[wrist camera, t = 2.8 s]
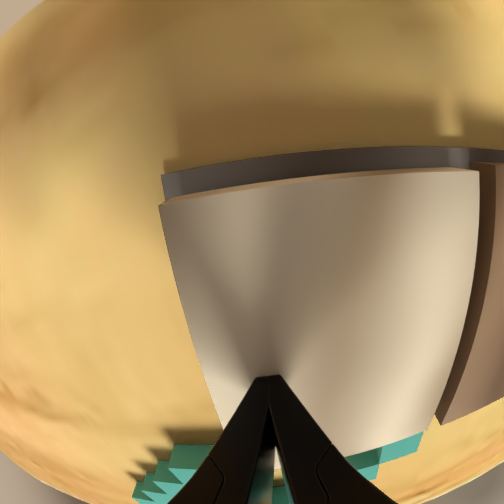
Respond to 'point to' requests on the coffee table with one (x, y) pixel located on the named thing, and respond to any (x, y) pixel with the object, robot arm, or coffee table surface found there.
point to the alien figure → (191, 457)
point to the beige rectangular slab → (331, 292)
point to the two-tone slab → (487, 256)
